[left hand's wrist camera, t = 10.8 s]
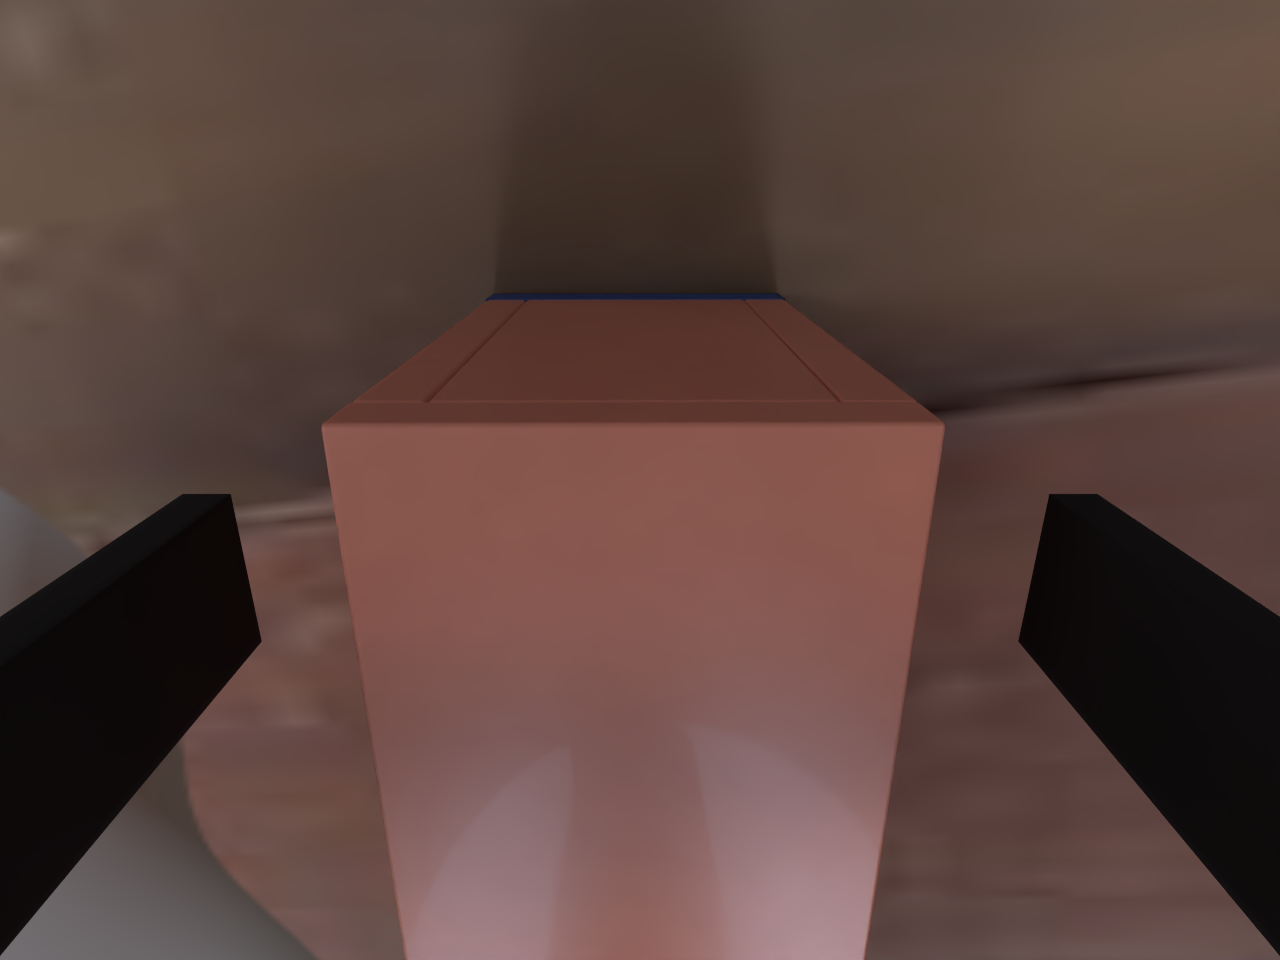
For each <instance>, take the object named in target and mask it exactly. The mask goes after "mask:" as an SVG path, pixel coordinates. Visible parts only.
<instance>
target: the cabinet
mask: <svg viewBox="0 0 1280 960" xmlns="http://www.w3.org/2000/svg"><path fill="white" fill-rule="evenodd" d="M321 429H322V435H323V442H324V448H325V454H326V460H327V467H328V473H329V479H330V486H331V492H332V498H333V505H334V511H335V517H336V524H337V530H338V536H339V543H340V549H341V555H342V562H343V568H344V574H345V581H346V587H347V593H348V600H349V606H350V612H351V618H352V625H353V631H354V637H355V644H356V650H357V656H358V663H359V669H360V675H361V682H362V688H363V694H364V701H365V707H366V713H367V720H368V726H369V732H370V739H371V745H372V751H373V757H374V764H375V770H376V776H377V783H378V789H379V795H380V802H381V808H382V814H383V821H384V827H385V833H386V840H387V846H388V852H389V859H390V865H391V871H392V878H393V884H394V890H395V897H396V903H397V909H398V915H399V922H400V928H401V934H402V941H403V947H404V953H405V960H865V959H866V952H867V946H868V939H869V932H870V926H871V919H872V912H873V906H874V899H875V892H876V886H877V879H878V872H879V866H880V859H881V852H882V846H883V839H884V832H885V826H886V819H887V812H888V806H889V799H890V792H891V786H892V779H893V772H894V766H895V759H896V752H897V746H898V739H899V732H900V726H901V719H902V712H903V706H904V699H905V693H906V686H907V679H908V673H909V666H910V659H911V653H912V646H913V639H914V633H915V626H916V619H917V613H918V606H919V599H920V593H921V586H922V579H923V573H924V566H925V559H926V553H927V546H928V539H929V533H930V526H931V519H932V513H933V506H934V499H935V493H936V486H937V479H938V473H939V466H940V459H941V453H942V446H943V439H944V433H945V423H944V422H943V421H942V420H940V419H939V418H938V417H936V416H935V415H934V414H932V413H931V412H930V411H928V410H927V409H926V408H925V407H923V406H922V405H921V404H919V403H917V402H916V400H915V399H913V398H912V397H911V396H909V395H908V394H907V393H905V392H904V391H903V390H901V389H900V388H899V387H898V386H896V385H895V384H894V383H892V382H891V381H890V380H888V379H887V378H886V377H884V376H883V375H882V374H880V373H879V372H878V371H876V370H875V369H874V368H873V367H871V366H870V365H869V364H867V363H866V362H865V361H863V360H862V359H861V358H859V357H858V356H857V355H855V354H854V353H853V352H852V351H850V350H849V349H848V348H846V347H845V346H844V345H842V344H841V343H840V342H838V341H837V340H836V339H834V338H833V337H832V336H830V335H829V334H828V333H827V332H825V331H824V330H823V329H821V328H820V327H819V326H817V325H816V324H815V323H813V322H812V321H811V320H809V319H808V318H807V317H806V316H804V315H803V314H802V313H800V312H799V311H798V310H796V309H795V308H794V307H792V306H791V305H790V304H788V303H787V302H786V301H785V299H784V298H783V297H782V296H780V295H779V294H493V295H491V296H490V297H488V298H487V299H486V302H485V303H484V304H482V305H481V306H480V307H478V308H477V309H476V310H474V311H473V312H472V313H470V314H469V315H468V316H467V317H465V318H464V319H463V320H461V321H460V322H459V323H457V324H456V325H455V326H453V327H452V328H451V329H449V330H448V331H447V332H445V333H444V334H443V335H441V336H440V337H439V338H437V339H436V340H435V341H433V342H432V343H431V344H429V345H428V346H427V347H425V348H424V349H423V350H421V351H420V352H419V353H417V354H416V355H415V356H413V357H412V358H411V359H409V360H408V361H407V362H405V363H404V364H403V365H401V366H400V367H399V368H397V369H396V370H395V371H393V372H392V373H391V374H389V375H388V376H387V377H385V378H384V379H383V380H381V381H380V382H379V383H377V384H376V385H375V386H373V387H372V388H371V389H369V390H368V391H367V392H365V393H364V394H363V395H361V396H360V397H359V398H357V399H356V400H355V401H353V403H350V404H348V405H347V406H345V407H344V408H343V409H341V410H340V411H339V412H337V413H336V414H335V415H333V416H332V417H331V418H329V419H328V420H327V421H325V422H324V423H323V424H322V427H321Z"/></svg>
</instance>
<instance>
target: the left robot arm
mask: <svg viewBox="0 0 1280 960" xmlns="http://www.w3.org/2000/svg"><path fill="white" fill-rule="evenodd" d="M261 642H262V641H261V636H260V631H259V627H258V622H257V617H256V612H255V608H254V603H253V598H252V593H251V589H250V584H249V579H248V574H247V570H246V565H245V560H244V555H243V551H242V546H241V541H240V536H239V532H238V527H237V522H236V517H235V513H234V508H233V503H232V498H231V494H182V495H181V496H179V497H178V498H176V499H175V500H173V501H172V502H170V503H169V504H167V505H166V506H164V507H163V508H161V509H160V510H158V511H157V512H155V513H154V514H152V515H151V516H149V517H148V518H147V519H145V520H144V521H142V522H141V523H139V524H138V525H136V526H135V527H133V528H132V529H130V530H129V531H127V532H126V533H124V534H123V535H121V536H120V537H118V538H117V539H115V540H114V541H112V542H111V543H109V544H108V545H106V546H105V547H103V548H102V549H100V550H99V551H97V552H96V553H94V554H93V555H92V556H90V557H89V558H87V559H86V560H84V561H83V562H81V563H80V564H78V565H77V566H75V567H74V568H72V569H71V570H69V571H68V572H66V573H65V574H63V575H62V576H60V577H59V578H57V579H56V580H54V581H53V582H51V583H50V584H49V585H47V586H45V587H44V588H42V589H41V590H39V591H38V592H37V593H35V594H34V595H32V596H31V597H29V598H28V599H26V600H25V601H23V602H22V603H20V604H19V605H17V606H16V607H14V608H13V609H11V610H10V611H8V612H7V613H5V614H4V615H2V616H1V617H0V955H1V954H2V953H3V952H4V950H5V949H6V948H7V947H8V946H9V944H10V943H11V942H12V941H13V940H14V938H15V937H16V936H17V935H18V934H19V932H20V931H21V930H22V929H23V928H24V926H25V925H26V924H27V923H28V922H29V920H30V919H31V918H32V917H33V916H34V914H35V913H36V912H37V911H38V910H39V908H40V907H41V906H42V905H43V904H44V902H45V901H46V900H47V899H48V898H49V896H50V895H51V894H52V893H53V892H54V890H55V889H56V888H57V887H58V886H59V884H60V883H61V882H62V881H63V880H64V878H65V877H66V876H67V875H68V874H69V872H70V871H71V870H72V869H73V868H74V866H75V865H76V864H77V863H78V861H79V860H80V859H81V858H82V857H83V856H84V854H85V853H86V852H87V851H88V849H89V848H90V847H91V846H92V845H93V843H94V842H95V841H96V840H97V839H98V837H99V836H100V835H101V834H102V833H103V831H104V830H105V829H106V828H107V827H108V825H109V824H110V823H111V822H112V821H113V819H114V818H115V817H116V816H117V815H118V813H119V812H120V811H121V810H122V809H123V807H124V806H125V805H126V804H127V803H128V801H129V800H130V799H131V798H132V797H133V795H134V794H135V793H136V792H137V791H138V789H139V788H140V787H141V786H142V785H143V783H144V782H145V781H146V780H147V779H148V777H149V776H150V775H151V774H152V772H153V771H154V770H155V769H156V768H157V766H158V765H159V764H160V763H161V762H162V761H163V759H164V758H165V757H166V756H167V754H168V753H169V752H170V751H171V750H172V748H173V747H174V746H175V745H176V744H177V742H178V741H179V740H180V739H181V738H182V736H183V735H184V734H185V733H186V732H187V730H188V729H189V728H190V727H191V726H192V724H193V723H194V722H195V721H196V720H197V718H198V717H199V716H200V715H201V714H202V712H203V711H204V710H205V709H206V708H207V706H208V705H209V704H210V703H211V702H212V700H213V699H214V698H215V697H216V696H217V694H218V693H219V692H220V691H221V690H222V688H223V687H224V686H225V685H226V684H227V682H228V681H229V680H230V679H231V678H232V676H233V675H234V674H235V673H236V672H237V670H238V669H239V668H240V667H241V666H242V664H243V663H244V662H245V661H246V660H247V658H248V657H249V656H250V655H251V654H252V652H253V651H254V650H255V649H256V648H257V646H258V645H259V644H260V643H261ZM1018 642H1019V643H1020V644H1021V645H1022V646H1023V648H1024V649H1025V650H1026V651H1027V652H1028V654H1029V655H1030V656H1031V657H1032V658H1033V660H1034V661H1035V662H1036V663H1037V664H1038V666H1039V667H1040V668H1041V669H1042V670H1043V672H1044V673H1045V674H1046V675H1047V676H1048V678H1049V679H1050V680H1051V681H1052V682H1053V684H1054V685H1055V686H1056V687H1057V688H1058V690H1059V691H1060V692H1061V693H1062V694H1063V696H1064V697H1065V698H1066V699H1067V700H1068V702H1069V703H1070V704H1071V705H1072V706H1073V708H1074V709H1075V710H1076V711H1077V712H1078V714H1079V715H1080V716H1081V717H1082V718H1083V720H1084V721H1085V722H1086V723H1087V724H1088V726H1089V727H1090V728H1091V729H1092V730H1093V732H1094V733H1095V734H1096V735H1097V736H1098V738H1099V739H1100V740H1101V741H1102V742H1103V744H1104V745H1105V746H1106V747H1107V749H1108V750H1109V751H1110V752H1111V753H1112V755H1113V756H1114V757H1115V758H1116V759H1117V761H1118V762H1119V763H1120V764H1121V765H1122V767H1123V768H1124V769H1125V770H1126V771H1127V773H1128V774H1129V775H1130V776H1131V777H1132V779H1133V780H1134V781H1135V782H1136V783H1137V785H1138V786H1139V787H1140V788H1141V789H1142V791H1143V792H1144V793H1145V794H1146V795H1147V797H1148V798H1149V799H1150V800H1151V801H1152V803H1153V804H1154V805H1155V806H1156V807H1157V809H1158V810H1159V811H1160V812H1161V813H1162V815H1163V816H1164V817H1165V818H1166V819H1167V821H1168V822H1169V823H1170V824H1171V825H1172V827H1173V828H1174V829H1175V830H1176V831H1177V833H1178V834H1179V835H1180V836H1181V837H1182V839H1183V840H1184V841H1185V842H1186V843H1187V845H1188V846H1189V847H1190V848H1191V849H1192V851H1193V852H1194V853H1195V854H1196V856H1197V857H1198V858H1199V859H1200V860H1201V862H1202V863H1203V864H1204V865H1205V866H1206V868H1207V869H1208V870H1209V871H1210V872H1211V874H1212V875H1213V876H1214V877H1215V878H1216V880H1217V881H1218V882H1219V883H1220V884H1221V886H1222V887H1223V888H1224V889H1225V890H1226V892H1227V893H1228V894H1229V895H1230V896H1231V898H1232V899H1233V900H1234V901H1235V902H1236V904H1237V905H1238V906H1239V907H1240V908H1241V910H1242V911H1243V912H1244V913H1245V914H1246V916H1247V917H1248V918H1249V919H1250V920H1251V922H1252V923H1253V924H1254V925H1255V926H1256V928H1257V929H1258V930H1259V931H1260V932H1261V934H1262V935H1263V936H1264V937H1265V938H1266V940H1267V941H1268V942H1269V943H1270V944H1271V946H1272V947H1273V948H1274V949H1275V950H1276V952H1277V953H1278V954H1279V955H1280V617H1279V616H1278V615H1276V614H1275V613H1273V612H1272V611H1270V610H1269V609H1267V608H1266V607H1264V606H1263V605H1261V604H1260V603H1258V602H1257V601H1255V600H1254V599H1252V598H1251V597H1249V596H1248V595H1246V594H1245V593H1243V592H1242V591H1241V590H1239V589H1238V588H1236V587H1235V586H1233V585H1232V584H1230V583H1229V582H1227V581H1226V580H1224V579H1223V578H1221V577H1220V576H1218V575H1217V574H1215V573H1214V572H1212V571H1211V570H1209V569H1208V568H1206V567H1205V566H1203V565H1202V564H1200V563H1199V562H1197V561H1196V560H1194V559H1193V558H1191V557H1190V556H1188V555H1187V554H1186V553H1184V552H1183V551H1181V550H1180V549H1178V548H1177V547H1175V546H1174V545H1172V544H1171V543H1169V542H1168V541H1166V540H1165V539H1163V538H1162V537H1160V536H1159V535H1157V534H1156V533H1154V532H1153V531H1151V530H1150V529H1148V528H1147V527H1145V526H1144V525H1142V524H1141V523H1139V522H1138V521H1136V520H1135V519H1133V518H1132V517H1131V516H1129V515H1128V514H1126V513H1125V512H1123V511H1122V510H1120V509H1119V508H1117V507H1116V506H1114V505H1113V504H1111V503H1110V502H1108V501H1107V500H1105V499H1104V498H1102V497H1101V496H1099V495H1098V494H1049V498H1048V503H1047V508H1046V513H1045V517H1044V522H1043V527H1042V532H1041V536H1040V541H1039V546H1038V551H1037V555H1036V560H1035V565H1034V570H1033V574H1032V579H1031V584H1030V589H1029V593H1028V598H1027V603H1026V608H1025V612H1024V617H1023V622H1022V627H1021V631H1020V636H1019V641H1018Z"/></svg>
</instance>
